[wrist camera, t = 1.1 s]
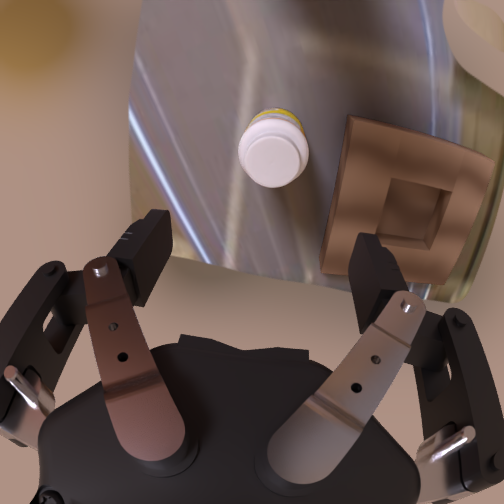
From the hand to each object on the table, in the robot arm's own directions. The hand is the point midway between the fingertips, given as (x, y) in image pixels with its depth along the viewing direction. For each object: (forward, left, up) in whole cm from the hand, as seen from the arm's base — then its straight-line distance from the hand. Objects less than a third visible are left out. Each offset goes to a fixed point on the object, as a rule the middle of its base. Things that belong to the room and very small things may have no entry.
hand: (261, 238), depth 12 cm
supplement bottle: (0, 0, -20) cm, 20 cm away
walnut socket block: (+6, +16, -20) cm, 26 cm away
